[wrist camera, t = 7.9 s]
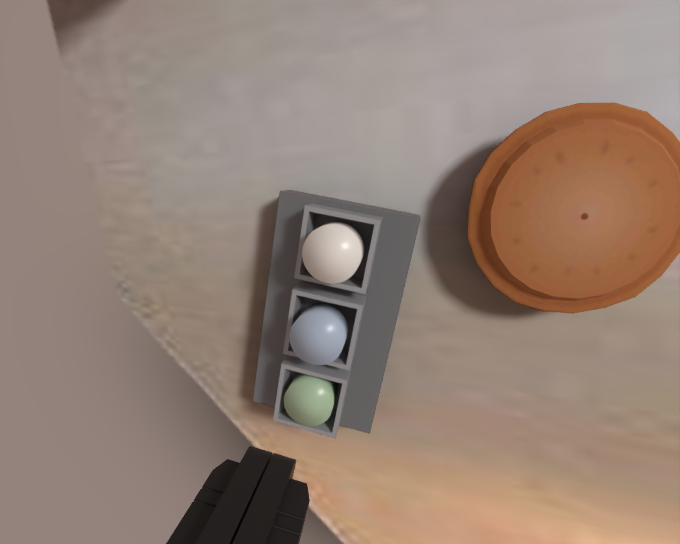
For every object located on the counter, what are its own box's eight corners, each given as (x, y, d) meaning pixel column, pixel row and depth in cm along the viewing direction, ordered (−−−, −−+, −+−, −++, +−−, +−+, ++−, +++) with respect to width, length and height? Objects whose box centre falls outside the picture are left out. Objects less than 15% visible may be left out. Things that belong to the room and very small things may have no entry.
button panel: (263, 385, 40) (241, 416, 34) (290, 190, 34) (269, 191, 29) (372, 414, 38) (367, 452, 33) (419, 215, 32) (421, 221, 27)
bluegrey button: (294, 345, 32) (285, 357, 30) (301, 298, 31) (293, 308, 29) (343, 357, 32) (338, 371, 29) (352, 310, 30) (348, 320, 28)
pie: (636, 74, 27) (684, 52, 23) (684, 264, 30) (737, 279, 25) (435, 159, 31) (441, 155, 26) (492, 321, 34) (506, 344, 29)
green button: (288, 403, 35) (280, 418, 33) (295, 363, 34) (287, 376, 32) (332, 415, 35) (327, 431, 32) (340, 374, 34) (336, 389, 31)
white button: (306, 269, 30) (298, 276, 28) (314, 216, 29) (306, 219, 27) (358, 280, 30) (354, 289, 27) (368, 227, 28) (365, 231, 26)
